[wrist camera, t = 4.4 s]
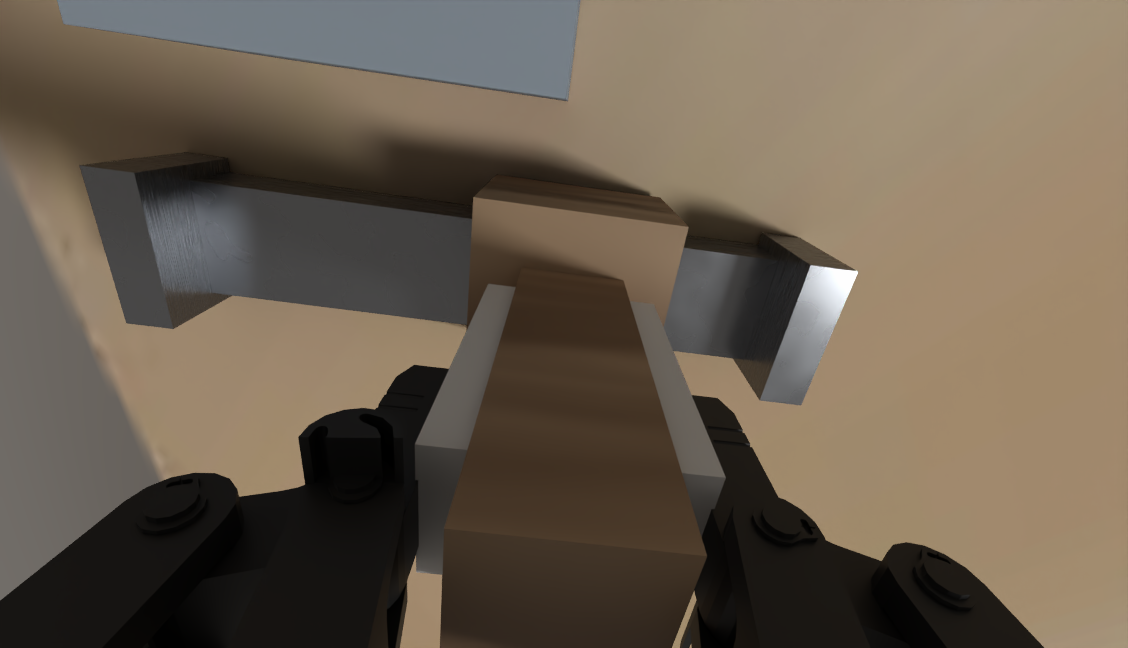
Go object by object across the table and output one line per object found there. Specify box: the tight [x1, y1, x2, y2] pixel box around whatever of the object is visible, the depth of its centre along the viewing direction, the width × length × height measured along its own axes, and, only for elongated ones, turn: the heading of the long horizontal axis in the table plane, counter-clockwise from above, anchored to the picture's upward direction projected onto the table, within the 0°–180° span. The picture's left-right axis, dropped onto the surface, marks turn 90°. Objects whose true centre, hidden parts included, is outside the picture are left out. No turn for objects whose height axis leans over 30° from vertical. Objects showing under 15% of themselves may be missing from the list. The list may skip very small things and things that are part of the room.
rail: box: [79, 152, 858, 405], centre depth 17 cm, size 5×23×4 cm, turn 82°
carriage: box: [440, 175, 707, 648], centre depth 12 cm, size 7×6×14 cm
